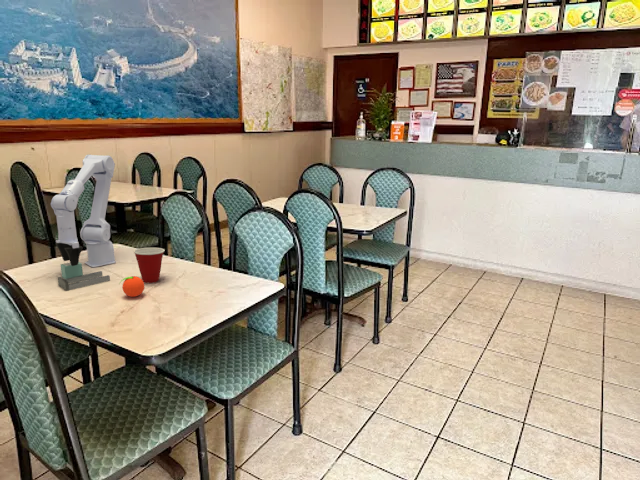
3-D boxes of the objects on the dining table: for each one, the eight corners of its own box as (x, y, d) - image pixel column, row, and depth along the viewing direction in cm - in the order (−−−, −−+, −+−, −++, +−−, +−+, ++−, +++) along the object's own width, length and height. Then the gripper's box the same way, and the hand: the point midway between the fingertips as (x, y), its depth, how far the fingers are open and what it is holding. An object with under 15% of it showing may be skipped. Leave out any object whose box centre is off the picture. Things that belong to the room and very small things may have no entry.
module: (78, 273, 173) (77, 260, 171) (83, 276, 170) (81, 262, 169) (62, 277, 168) (60, 263, 167) (66, 279, 166) (64, 266, 164)
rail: (101, 275, 171) (100, 268, 170) (110, 280, 166) (109, 272, 165) (58, 285, 160) (57, 277, 159) (66, 290, 155) (65, 282, 155)
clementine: (119, 301, 148) (117, 281, 146) (120, 293, 154) (118, 274, 153) (145, 298, 151) (144, 278, 149) (144, 291, 157) (143, 272, 155)
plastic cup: (171, 276, 173) (169, 246, 169) (158, 286, 162) (156, 254, 159) (144, 274, 173) (141, 244, 170) (130, 284, 163) (127, 252, 160)
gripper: (47, 225, 166) (52, 260, 170) (62, 232, 157) (66, 269, 160) (68, 222, 171) (72, 256, 175) (83, 229, 162) (87, 265, 165)
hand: (70, 262), depth 168 cm, fingers open, 7 cm apart
